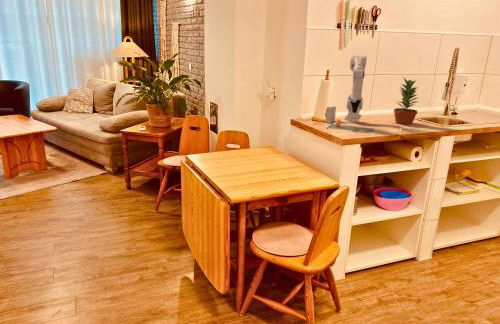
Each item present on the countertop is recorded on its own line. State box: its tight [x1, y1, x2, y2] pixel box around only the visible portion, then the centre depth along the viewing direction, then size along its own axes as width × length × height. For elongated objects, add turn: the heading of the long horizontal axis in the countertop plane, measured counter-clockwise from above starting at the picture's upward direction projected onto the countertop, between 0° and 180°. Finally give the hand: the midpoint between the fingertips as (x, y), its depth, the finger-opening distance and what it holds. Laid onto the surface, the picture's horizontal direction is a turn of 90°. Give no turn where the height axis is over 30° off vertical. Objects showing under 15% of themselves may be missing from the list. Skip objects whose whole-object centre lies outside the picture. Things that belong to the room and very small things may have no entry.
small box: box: [324, 104, 337, 124], centre depth 255 cm, size 8×6×10 cm
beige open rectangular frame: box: [344, 106, 362, 122], centre depth 232 cm, size 13×8×6 cm, turn 157°
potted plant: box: [393, 77, 420, 126], centre depth 252 cm, size 15×15×30 cm
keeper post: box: [335, 118, 341, 127], centre depth 237 cm, size 2×2×4 cm
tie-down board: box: [326, 123, 376, 133], centre depth 235 cm, size 12×27×1 cm, turn 67°
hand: (354, 112), depth 236 cm, fingers closed on beige open rectangular frame
